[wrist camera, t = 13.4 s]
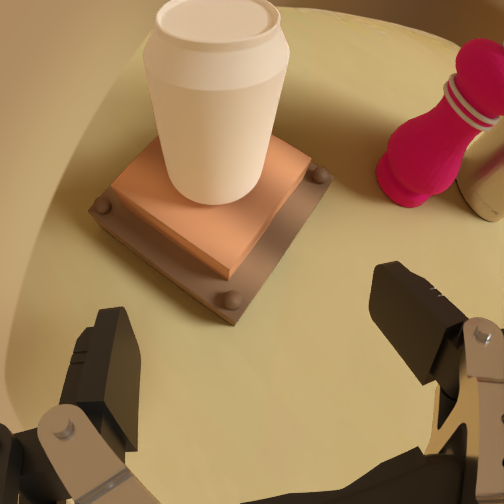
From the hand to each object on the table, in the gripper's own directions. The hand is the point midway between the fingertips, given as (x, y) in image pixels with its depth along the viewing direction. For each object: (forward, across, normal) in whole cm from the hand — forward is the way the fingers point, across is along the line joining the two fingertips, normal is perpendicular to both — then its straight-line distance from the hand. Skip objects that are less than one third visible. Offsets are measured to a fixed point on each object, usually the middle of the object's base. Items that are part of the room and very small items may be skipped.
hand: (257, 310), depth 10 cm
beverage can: (+14, 0, -1) cm, 14 cm away
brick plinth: (+18, 0, +3) cm, 18 cm away
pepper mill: (+19, -19, +2) cm, 27 cm away
